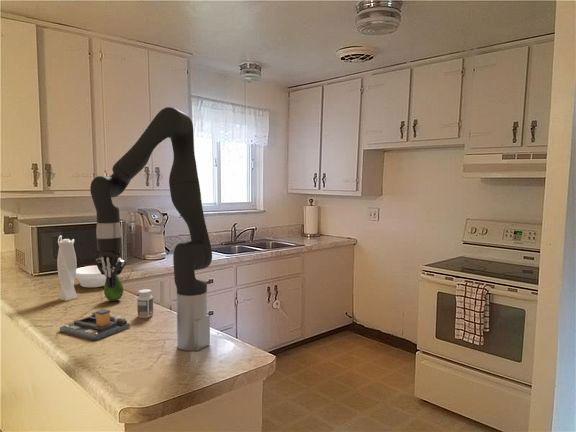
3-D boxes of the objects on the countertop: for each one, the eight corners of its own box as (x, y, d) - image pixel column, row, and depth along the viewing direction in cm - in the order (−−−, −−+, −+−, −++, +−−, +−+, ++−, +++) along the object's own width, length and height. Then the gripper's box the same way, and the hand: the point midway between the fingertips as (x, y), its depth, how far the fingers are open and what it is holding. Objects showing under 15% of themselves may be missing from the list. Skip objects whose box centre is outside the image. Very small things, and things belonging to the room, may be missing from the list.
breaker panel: (129, 327, 143) (129, 320, 143) (95, 340, 130) (95, 332, 130) (95, 319, 151) (95, 312, 151) (59, 331, 138) (59, 323, 138)
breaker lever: (110, 326, 139) (109, 310, 139) (102, 329, 137) (101, 313, 136) (104, 324, 141) (103, 309, 140) (95, 327, 138) (95, 311, 138)
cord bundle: (127, 323, 143) (127, 317, 143) (121, 325, 141) (121, 319, 141) (96, 316, 150) (96, 310, 150) (90, 318, 148) (90, 312, 148)
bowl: (126, 281, 212) (126, 265, 211) (104, 291, 191) (103, 274, 190) (88, 279, 214) (88, 264, 213) (62, 289, 193) (62, 273, 192)
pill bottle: (148, 312, 160) (147, 288, 159) (156, 315, 156) (155, 290, 155) (134, 316, 155) (134, 290, 155) (142, 319, 152) (142, 293, 151)
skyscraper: (54, 299, 177) (51, 236, 175) (70, 295, 183) (68, 234, 181) (65, 301, 173) (63, 237, 171) (81, 297, 180) (79, 235, 178)
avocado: (101, 300, 175) (100, 273, 174) (119, 297, 181) (118, 271, 180) (108, 304, 169) (107, 276, 169) (126, 301, 175) (126, 274, 174)
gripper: (132, 235, 135) (134, 286, 136) (104, 234, 141) (107, 283, 142) (113, 238, 128) (116, 292, 129) (85, 236, 134) (88, 288, 135)
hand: (111, 287), depth 135 cm, fingers closed
